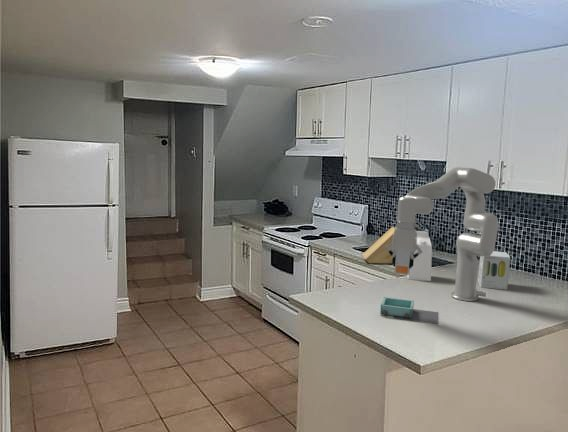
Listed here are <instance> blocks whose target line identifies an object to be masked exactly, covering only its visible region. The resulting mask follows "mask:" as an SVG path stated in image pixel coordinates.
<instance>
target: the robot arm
mask: <svg viewBox="0 0 568 432" xmlns="http://www.w3.org/2000/svg"><path fill="white" fill-rule="evenodd" d="M459 188H460V189H461V190H462V191H463V194H464V195H465V199H466V202H465V203H466V204H465V209H464V216H463V223H462V224H463V226H464V229H465V230H468V231H472V232H478V233H481V234H476V233H470V232H463V233H461V234H459V235H458V237H457V238H456V254H457V255H456V256H457V258H456V272H455V282H454V291H452V292H451V293H450V296H451V298H453V299H456V300H459V301H465V302H475V301H478V300H479V298H480V297H486V296H487V293H486V292H483V291H479V290H477V282H478V272H479V260H478V257H477V256H479V257H480V256H482V257H488V256H490V255H491V254H492V253H493V251H495V247H496V246H495V245H496V243H497V242H496V241H497V236H498V231H499V220H498V218H497V216H496V215H495V214H494V213H490V212H486V202H487V201H486V198H485V195H484V194H490V193H491V192H493V191H494V189H495V188H496V180H495V178H494V177H493V176H492V175H491V174H489V173H487V172H484V171H481V170H479V169H476V168H473V167H461V166H460V167H457V166H456V167H454V168H452V169H449V170H448V171H447V172H446V173H444V174H442V176H440V177H439V178H438V179H436V180H434V181H432V182H429V183H426V184H424V185H420V186H418V187H415V188H414V189H412V190H411V191H409V192H408V193H407V194H406V195H405V196H401V197H399V198H398V202H397V203H398V204H397V214H396V215H397V216H396V224H397V227H396V228H395V230H394V234H393V240H392V243H391V244H389V245H388V246H387V247H386V250H387V251H388V252H389V253H390V255H391V256H392V257H393V260H392V263H391V264H392V265H393V267H394V268H395V261H396V251H407V250H410V256H411V259H410V266H409V268H410V269H411V267H412V266H413V263H414V259H415V258H416V257H417V256H418V255H420V254H421V253H422V250H421V249H420V248H419V246H418V245H417V232H416V229H414V228H416V227H418V228H419V224H417V223H416V221H415V219H416V215H417V214H418V215H428V214H430V213H432V212H433V210H434V207H435V204H434V201H433V200H438V199H444V198H446V197H448V196H449V195H451V194H453V192H455V191H456V190H457V189H459ZM390 247H392V250H393V251H394V253H393V252H392V250H391V249H390ZM416 249H417V250H418V252H417V253H416V254H414V252H415V251H416Z"/></svg>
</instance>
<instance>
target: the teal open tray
mask: <svg viewBox="0 0 568 432" xmlns="http://www.w3.org/2000/svg"><path fill="white" fill-rule="evenodd" d="M414 303H415V300H412V299H402V298H396V297H395V298H393V297H386V296H384V297H383V298H382V301H381V304H380V310H379V311H380V312H379V314H380V315H382V316H386V315H390V316H398V317H405V318H406V319H408V318H412V314H413V309H414V305H415V304H414Z"/></svg>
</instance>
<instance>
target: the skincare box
mask: <svg viewBox="0 0 568 432" xmlns="http://www.w3.org/2000/svg"><path fill="white" fill-rule="evenodd" d="M410 259H411V256H410V250H407V251H396V261H395V267H394V274H396V275H405V276H407V275H409V273H410V268H409V266H410Z"/></svg>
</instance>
